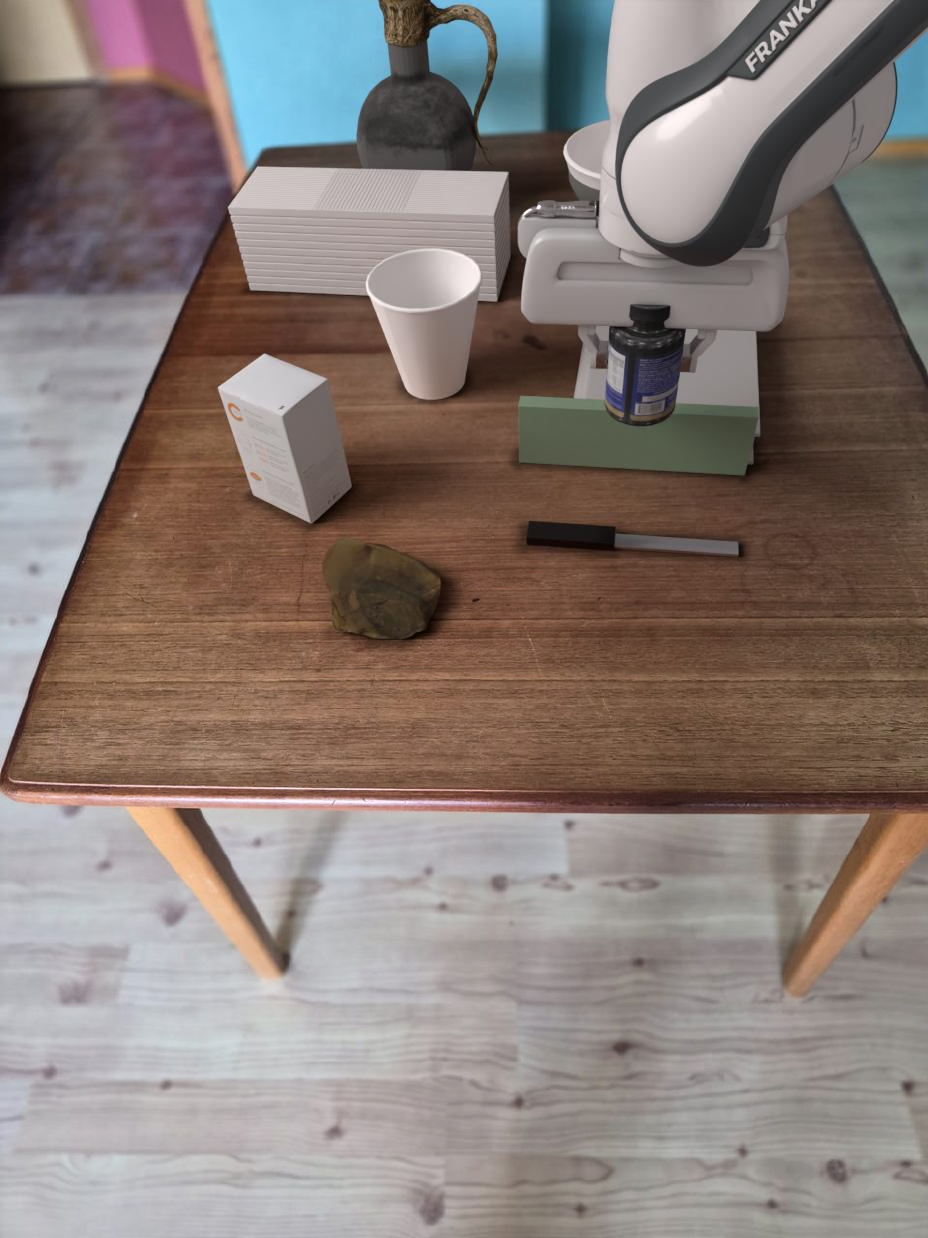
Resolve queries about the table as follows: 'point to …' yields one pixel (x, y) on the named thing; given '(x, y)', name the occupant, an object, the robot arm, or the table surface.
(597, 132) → the bowl
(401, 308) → the cup
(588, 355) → the white rectangular block
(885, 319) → the table surface
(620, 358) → the pill bottle
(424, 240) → the white ribbed block
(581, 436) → the green board
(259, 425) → the small box
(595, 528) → the table knife
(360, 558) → the decorative stone
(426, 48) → the pitcher
